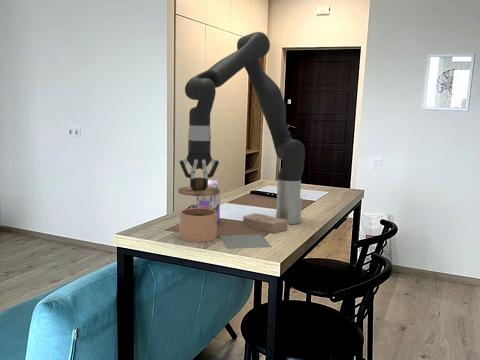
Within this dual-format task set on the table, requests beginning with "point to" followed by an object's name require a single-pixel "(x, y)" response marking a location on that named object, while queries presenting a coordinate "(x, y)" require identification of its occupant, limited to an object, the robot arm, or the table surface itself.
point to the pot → (198, 225)
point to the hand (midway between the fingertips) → (198, 189)
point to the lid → (198, 189)
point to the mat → (244, 241)
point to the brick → (265, 223)
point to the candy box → (211, 199)
